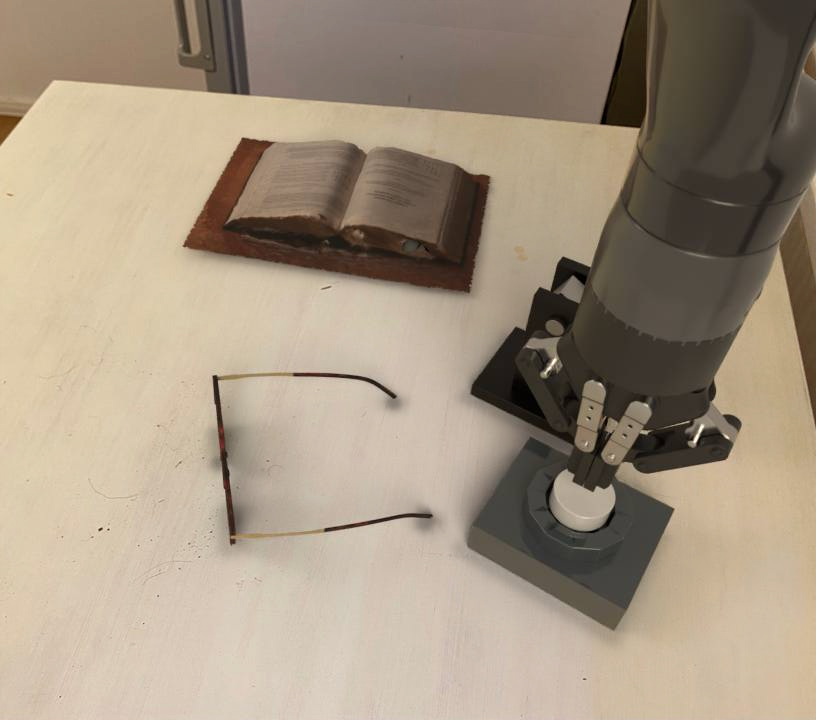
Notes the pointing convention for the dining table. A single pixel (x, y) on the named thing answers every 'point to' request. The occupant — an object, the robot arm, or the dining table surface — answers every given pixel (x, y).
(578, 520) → the white push button
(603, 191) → the dining table surface
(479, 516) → the button housing
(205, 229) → the book
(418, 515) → the sunglasses
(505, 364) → the lever bracket
